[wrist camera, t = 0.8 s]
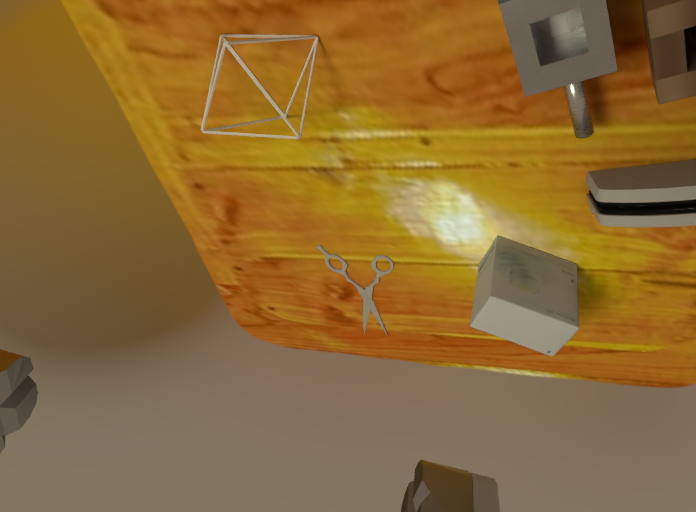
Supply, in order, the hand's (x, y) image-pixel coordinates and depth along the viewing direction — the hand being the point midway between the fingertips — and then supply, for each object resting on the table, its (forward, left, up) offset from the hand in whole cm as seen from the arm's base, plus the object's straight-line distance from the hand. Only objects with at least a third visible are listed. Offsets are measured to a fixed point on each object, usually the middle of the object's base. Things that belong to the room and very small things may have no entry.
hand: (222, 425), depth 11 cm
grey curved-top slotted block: (-11, +31, -46) cm, 57 cm away
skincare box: (+6, +41, -46) cm, 62 cm away
